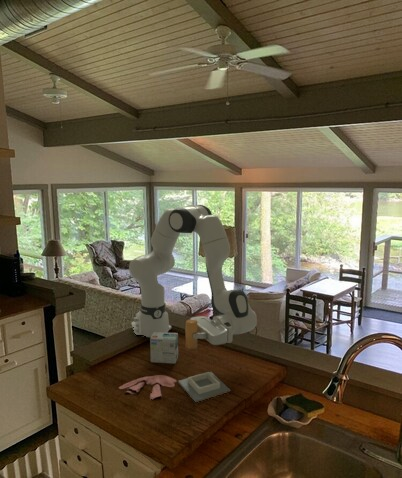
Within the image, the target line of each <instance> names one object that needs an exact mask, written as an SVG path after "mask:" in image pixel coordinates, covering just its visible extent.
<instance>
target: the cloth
mask: <svg viewBox="0 0 402 478" xmlns="http://www.w3.org/2000/svg"><path fill="white" fill-rule="evenodd" d="M177 382H178V381H177V379H175V378H173V377H171V376H169V375H168V376H167V375H165V374H160V375H159V374H158V375H157V374H156V375H151V376H144V377H143V376H142V377H139V378H137V379H133V380H131V381H128V382H126V383H124V384H123V385H120V386H119V387H118V389H120V390H123V389H124V390H125V389H126V391H124V392H123V395H125V394H127V393H129V394H131V395H137V393H139V392H140V391H141V390H142V388H143V387H145V384H146V385H149V384H150V385H153V387H152V389H151V392H152V393H151V392H150V394H149V400H151V399H152V400H154V399H155V398H156V397H160V396H161V398H160V399H162V398H163V395H162V390H161V387H167V388H174V387H175V383H177ZM160 385H161V386H160Z"/></svg>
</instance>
